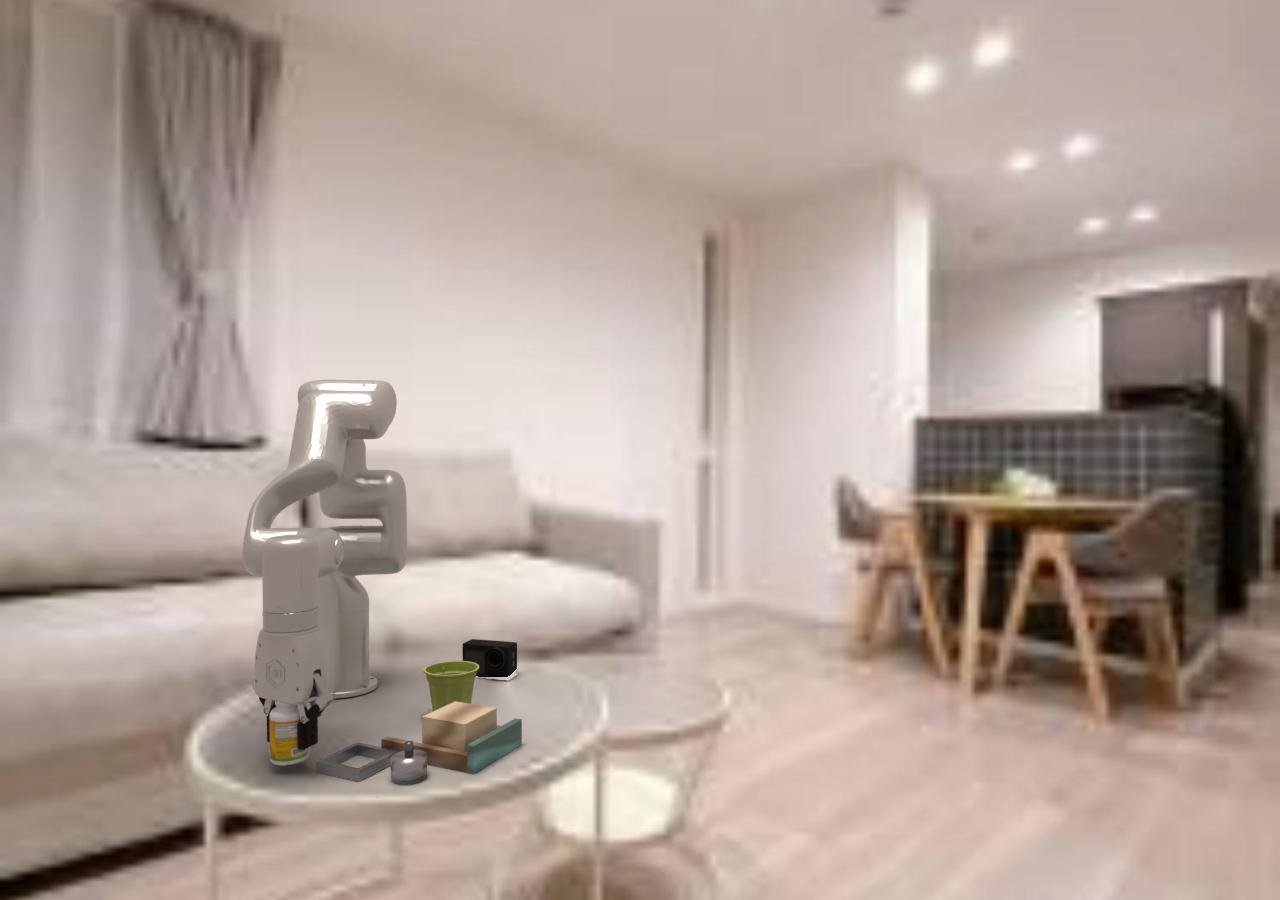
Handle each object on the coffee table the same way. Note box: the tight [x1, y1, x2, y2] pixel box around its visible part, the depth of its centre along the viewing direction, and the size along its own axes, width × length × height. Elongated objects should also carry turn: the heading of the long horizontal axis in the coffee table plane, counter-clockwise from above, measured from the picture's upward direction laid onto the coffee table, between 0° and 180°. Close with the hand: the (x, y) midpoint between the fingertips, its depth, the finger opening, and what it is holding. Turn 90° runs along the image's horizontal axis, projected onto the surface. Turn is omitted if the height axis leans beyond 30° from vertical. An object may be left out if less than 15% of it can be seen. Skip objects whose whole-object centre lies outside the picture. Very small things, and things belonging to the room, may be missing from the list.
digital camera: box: [461, 638, 518, 677], centre depth 163 cm, size 10×5×7 cm, turn 74°
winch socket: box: [315, 740, 428, 786], centre depth 115 cm, size 16×8×5 cm, turn 65°
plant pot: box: [423, 660, 479, 712], centre depth 138 cm, size 9×9×9 cm
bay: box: [380, 701, 523, 775], centre depth 123 cm, size 17×12×6 cm
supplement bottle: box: [269, 701, 311, 766], centre depth 116 cm, size 5×5×10 cm
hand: (292, 741), depth 117 cm, fingers closed on supplement bottle, 5 cm apart
